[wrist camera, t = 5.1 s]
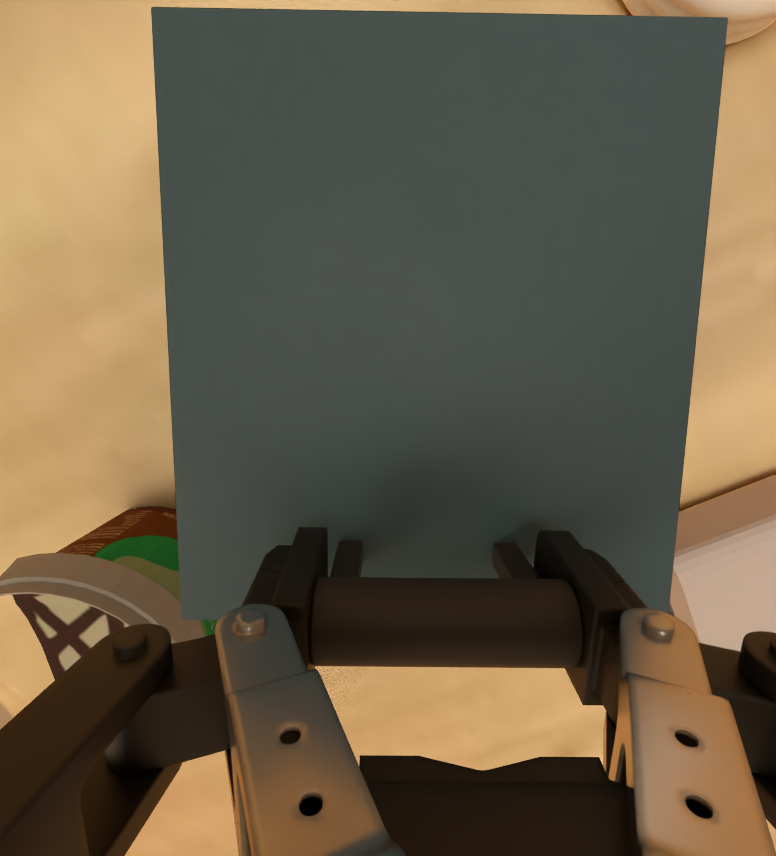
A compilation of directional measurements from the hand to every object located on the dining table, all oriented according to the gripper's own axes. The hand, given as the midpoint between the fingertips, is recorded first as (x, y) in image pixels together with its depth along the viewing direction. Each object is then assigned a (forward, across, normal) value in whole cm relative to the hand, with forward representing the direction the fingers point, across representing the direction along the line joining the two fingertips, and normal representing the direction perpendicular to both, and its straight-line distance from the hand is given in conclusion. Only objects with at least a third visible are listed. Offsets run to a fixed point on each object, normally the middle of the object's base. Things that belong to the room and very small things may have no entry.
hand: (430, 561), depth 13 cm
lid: (+3, 0, -5) cm, 6 cm away
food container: (+15, +12, +9) cm, 21 cm away
